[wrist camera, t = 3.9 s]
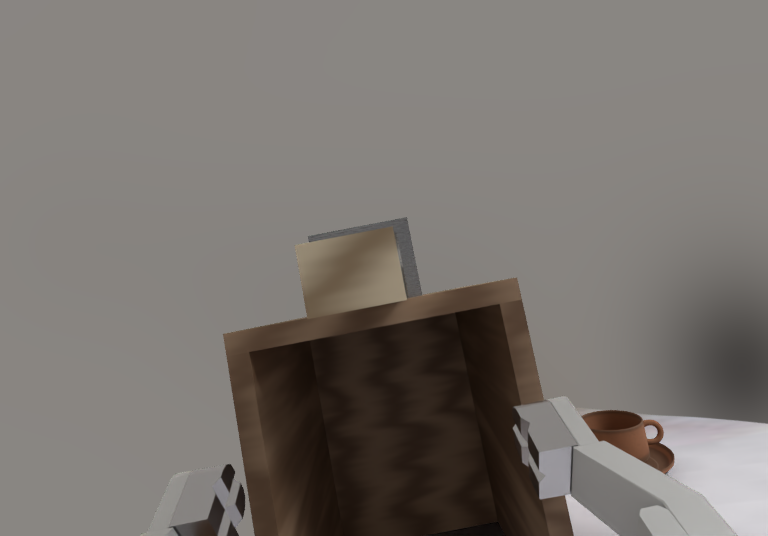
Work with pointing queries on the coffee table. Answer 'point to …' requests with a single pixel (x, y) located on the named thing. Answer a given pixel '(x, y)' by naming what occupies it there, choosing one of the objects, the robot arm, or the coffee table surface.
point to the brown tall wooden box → (391, 418)
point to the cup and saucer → (631, 436)
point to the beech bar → (350, 272)
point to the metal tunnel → (403, 250)
